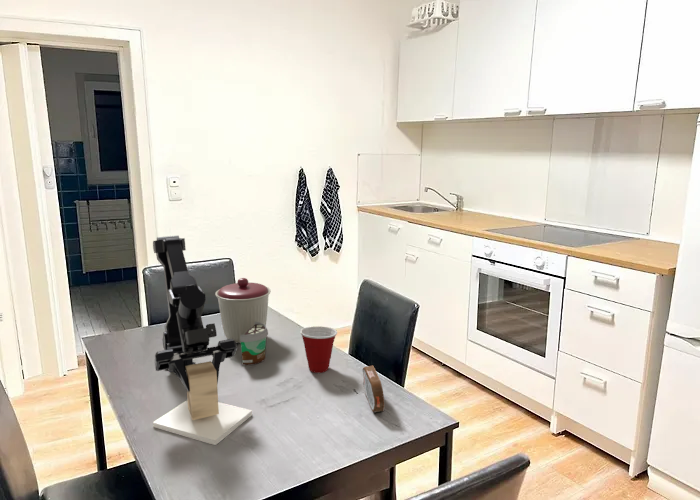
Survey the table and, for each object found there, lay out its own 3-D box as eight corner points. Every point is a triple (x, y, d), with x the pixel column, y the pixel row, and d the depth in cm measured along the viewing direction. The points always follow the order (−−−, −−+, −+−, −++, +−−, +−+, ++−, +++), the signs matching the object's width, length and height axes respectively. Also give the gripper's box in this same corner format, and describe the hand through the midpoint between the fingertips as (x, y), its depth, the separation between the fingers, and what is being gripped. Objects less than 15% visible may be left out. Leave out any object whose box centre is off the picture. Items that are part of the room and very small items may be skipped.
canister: (229, 327, 184) (226, 270, 179) (278, 329, 181) (276, 272, 177) (209, 346, 166) (205, 284, 162) (262, 349, 164) (260, 286, 159)
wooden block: (188, 408, 123) (185, 365, 120) (213, 402, 125) (210, 361, 123) (192, 420, 118) (189, 376, 115) (218, 414, 120) (216, 371, 118)
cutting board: (153, 426, 119) (152, 422, 119) (193, 399, 132) (193, 395, 132) (215, 445, 112) (215, 440, 112) (252, 414, 125) (251, 410, 124)
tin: (385, 418, 124) (385, 386, 122) (372, 419, 123) (373, 387, 121) (372, 388, 138) (372, 360, 136) (361, 389, 138) (361, 360, 136)
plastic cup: (343, 364, 153) (343, 327, 150) (326, 379, 143) (326, 339, 141) (311, 358, 157) (311, 321, 155) (293, 372, 148) (293, 333, 145)
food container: (260, 369, 150) (259, 337, 148) (240, 367, 151) (239, 335, 149) (274, 352, 162) (273, 322, 160) (256, 350, 163) (255, 321, 161)
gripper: (152, 319, 116) (162, 384, 109) (233, 307, 124) (247, 367, 117) (150, 339, 124) (160, 401, 117) (227, 327, 133) (240, 384, 125)
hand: (202, 388), depth 119 cm, fingers closed on wooden block, 6 cm apart
